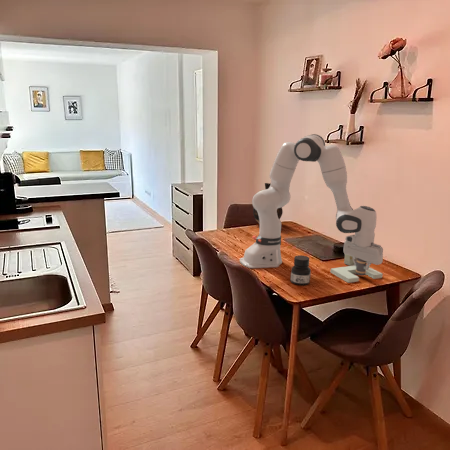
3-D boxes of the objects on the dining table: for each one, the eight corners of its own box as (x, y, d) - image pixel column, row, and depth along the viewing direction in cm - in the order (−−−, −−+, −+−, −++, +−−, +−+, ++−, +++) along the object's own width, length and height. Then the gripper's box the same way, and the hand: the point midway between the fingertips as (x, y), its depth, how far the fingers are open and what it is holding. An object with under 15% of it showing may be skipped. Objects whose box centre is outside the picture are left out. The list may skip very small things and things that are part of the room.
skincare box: (349, 266, 215) (351, 243, 212) (343, 263, 219) (345, 241, 216) (358, 264, 218) (361, 242, 215) (352, 261, 222) (354, 239, 219)
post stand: (348, 282, 193) (352, 246, 189) (330, 272, 206) (333, 237, 201) (386, 277, 201) (390, 241, 197) (366, 267, 214) (370, 233, 209)
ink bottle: (287, 284, 190) (289, 259, 187) (291, 277, 198) (293, 253, 195) (309, 287, 187) (311, 262, 184) (311, 280, 195) (313, 256, 192)
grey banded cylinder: (361, 276, 197) (363, 260, 195) (353, 273, 201) (355, 257, 199) (367, 274, 200) (369, 258, 198) (359, 271, 204) (361, 255, 202)
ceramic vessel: (256, 228, 282) (257, 185, 275) (249, 222, 299) (251, 181, 291) (285, 227, 286) (288, 184, 279) (277, 221, 303) (279, 180, 295)
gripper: (387, 245, 190) (383, 273, 193) (351, 234, 206) (348, 260, 209) (379, 247, 186) (375, 276, 190) (342, 236, 202) (340, 262, 206)
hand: (360, 267), depth 200 cm, fingers closed on grey banded cylinder, 4 cm apart
